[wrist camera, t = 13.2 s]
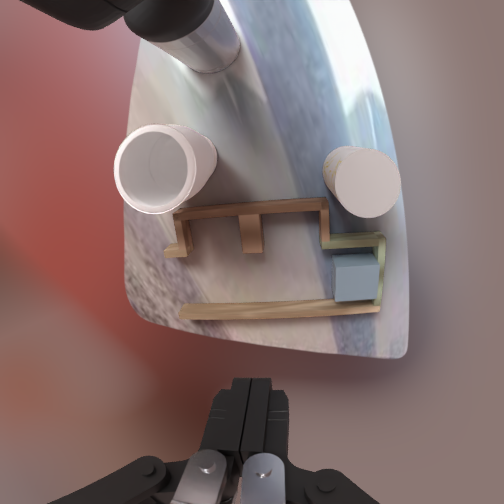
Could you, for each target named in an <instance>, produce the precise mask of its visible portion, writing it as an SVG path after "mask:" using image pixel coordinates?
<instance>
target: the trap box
mask: <svg viewBox="0 0 504 504" xmlns="http://www.w3.org/2000/svg"><path fill="white" fill-rule="evenodd" d="M300 211H319V237H320V244H321V248H322V249H337V248H355V247H372V253H373V255H374V256H375V258H376V259H377V261H378V262H379V264H380V270H379V282H378V292H377V299H366V300H353V301H339V302H335V299H321V300H303V301H281V302H254V303H208V304H184V305H183V307H182V308H181V310H180V312H179V313H178V314H179V318H180V319H272V318H297V317H316V316H332V315H346V314H359V313H370V312H380V304H381V296H382V287H383V276H384V264H385V250H386V238H385V237H384V235H383V234H382V233H381V232H380V231H378V232H357V233H337V234H330V231H329V202H328V200H327V199H326V197H319V198H300V199H283V200H269V201H255V202H242V203H231V204H219V205H209V206H199V207H189V208H180V209H179V210H177V211H176V212H174V213H173V219H174V225H175V230H176V236H177V241H178V243H174V244H170V245H169V246H168V247H167V248H166V249H165V250H164V255H165V258H173V257H188V255H189V254H190V253H191V252H192V250H193V249H194V248H193V242H192V236H191V230H190V224H189V220H192V219H204V218H215V217H227V216H238V217H239V226H240V234H241V242H242V250H243V254H246V253H262V252H263V248H264V238H263V227H262V217H261V214H268V213H284V212H300Z"/></svg>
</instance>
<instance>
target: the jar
mask: <svg viewBox="0 0 504 504" xmlns="http://www.w3.org/2000/svg"><path fill="white" fill-rule="evenodd" d="M216 164H217V152H216V149H215V147H214V145H213V143H212V142H211V141H210V140H209V139H208V138H207V137H205V136H204V135H201V134H199V133H198V132H197V131H195V130H193V129H191V128H189V127H186V126H182V125H165V124H148V125H144V126H141V127H139V128H137V129H136V130H134V131H133V132H131V133H130V134H129V135H128V136H127V137H126V138H125V139H124V141H123V142H122V144H121V145H120V147H119V149H118V151H117V154H116V157H115V162H114V178H115V182H116V186H117V188H118V190H119V192H120V194H121V196H122V197H123V199H124V200H125V201H126V202H127V203H128V204H129V205H130V206H132V207H133V208H135V209H136V210H138V211H141V212H144V213H148V214H160V213H165V212H168V211H170V210H172V209H174V208H176V207H177V206H179V205H180V204H181V203H182V202H184V201H186V200H188V199H190V198H191V197H193V196H194V195H195V194H197V193H198V192H199V191H200V190H201V189H202V188H203V186H204V185H205V184H206V182H207V180H208V179H209V177H210V176H211V175H212V173H213V172H214V170H215V168H216Z"/></svg>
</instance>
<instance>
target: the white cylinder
mask: <svg viewBox="0 0 504 504" xmlns="http://www.w3.org/2000/svg"><path fill="white" fill-rule="evenodd" d="M323 178H324V181H325V184H326V185H327V187H328V188H329V189H330V191H331V192H332V193H333V194H334V195H335V197H336V198H337V199H338V200H339V202H340V203H341V204H342V205H343V206H344V208H345V209H346V210H348V211H349V212H350V213H352V214H354V215H356V216H359V217H363V218H373V217H377V216H380V215H382V214H384V213H386V212H387V211H388V210H390V209H391V208H392V206H393V205H394V204H395V202H396V201H397V199H398V196H399V193H400V188H401V179H400V174H399V171H398V168H397V166H396V165H395V163H394V162H393V161H392V159H391V158H390V157H388V156H387V155H386V154H384V153H383V152H381V151H378V150H374V149H368V148H361V147H354V146H342V147H339V148H336V149H334V150H333V151H332V152H331V153H330V154H329V155H328V156H327V157H326V159H325V161H324V164H323Z"/></svg>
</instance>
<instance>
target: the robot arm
mask: <svg viewBox="0 0 504 504" xmlns="http://www.w3.org/2000/svg"><path fill="white" fill-rule="evenodd" d="M20 1H22V2H24V3H26V4H28V5H30V6H32V7H34V8H36V9H38V10H40V11H42V12H44V13H45V14H48V15H49V16H51V17H53V18H55V19H57V20H59V21H61V22H64V23H66V24H68V25H71V26H74V27H77V28H80V29H84V30H99V29H102V28H104V27H106V26H108V25H110V24H111V23H113V22H115V21H116V20H118V19H119V18H120V17H122V16H124V20H125V22H126V25H127V26H128V28H129V29H130V30H131V31H132V32H134V33H135V34H136V35H138V36H140V37H141V38H143V39H145V40H147V41H148V42H150V43H152V44H153V45H155V46H157V47H159V48H160V49H162V50H163V51H165V52H167V53H168V54H170V55H171V56H173V57H175V58H176V59H178V60H179V61H181V62H182V63H184V64H185V65H187V66H188V67H190V68H191V69H193V70H195V71H198V72H201V73H214V72H218V71H221V70H223V69H225V68H226V67H228V66H229V65H230V64H231V63H232V62H233V61H234V60H235V59H236V57H237V55H238V53H239V50H240V40H239V37H238V35H237V33H236V31H235V29H234V27H233V25H232V23H231V21H230V19H229V18H228V16H227V14H226V12H225V10H224V8H223V7H222V5H221V3H220V1H219V0H20ZM271 382H272V381H271V378H253V379H252V378H234V379H233V382H232V387H231V390H225V389H221V390H220V391H219V393H218V394H217V395H216V396H215V397H214V399H213V403H212V407H211V410H210V414H209V418H208V421H207V424H206V428H205V431H204V435H203V438H202V442H201V445H200V448H199V450H198V452H196V453H194V454H193V455H192V456H191V457H190V458H189V459H187V460H184V461H178V462H168V463H163V461H161V459H159V458H157V457H154V456H143V457H141V458H138V459H137V460H135V461H133V462H131V463H130V464H128V465H126V466H124V467H123V468H121V469H119V470H117V471H115V472H113V473H111V474H109V475H108V476H106V477H104V478H102V479H100V480H98V481H96V482H94V483H92V484H90V485H88V486H86V487H84V488H82V489H79V490H77V491H75V492H73V493H71V494H69V495H67V496H64V497H62V498H60V499H57V500H55V501H52V502H50V503H48V504H235V501H236V498H237V494H238V482H239V477H242V485H241V499H240V504H379V503H378V502H377V501H376V500H374V499H373V498H372V497H370V496H369V495H368V494H367V493H365V492H364V491H363V490H362V489H360V488H359V487H358V486H357V485H356V484H354V483H353V482H352V481H351V480H350V479H348V478H347V477H346V476H345V475H344V474H342V473H341V472H339V471H337V470H334V469H322V470H319V471H316V472H312V471H308V470H304V469H300V468H298V467H296V466H294V465H293V464H292V463H291V462H290V461H289V460H288V458H287V455H288V435H289V433H288V432H289V405H288V398H287V396H286V395H285V392H284V391H283V390H272V383H271Z"/></svg>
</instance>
